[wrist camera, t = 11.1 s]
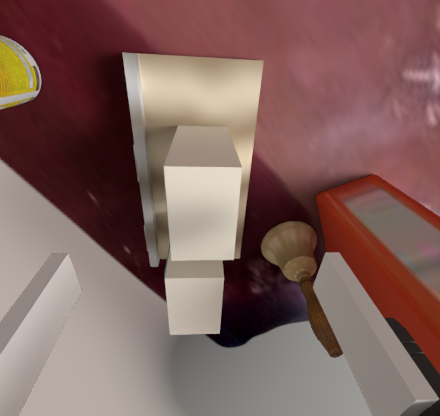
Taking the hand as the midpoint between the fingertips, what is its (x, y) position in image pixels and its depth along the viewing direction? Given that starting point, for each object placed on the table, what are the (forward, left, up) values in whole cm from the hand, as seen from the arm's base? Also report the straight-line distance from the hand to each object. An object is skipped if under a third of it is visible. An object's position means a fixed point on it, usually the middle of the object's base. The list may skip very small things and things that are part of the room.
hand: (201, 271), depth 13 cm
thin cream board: (+2, -1, -18) cm, 18 cm away
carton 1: (0, 0, -16) cm, 16 cm away
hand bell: (+13, +13, -19) cm, 26 cm away
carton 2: (+10, -1, -16) cm, 19 cm away
